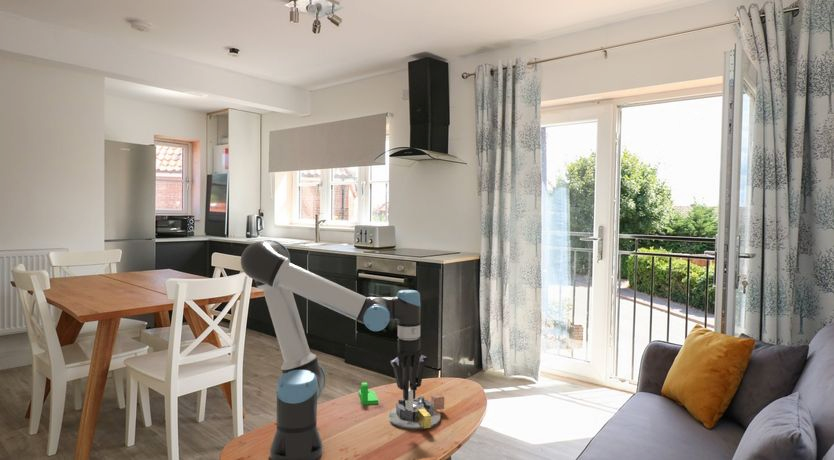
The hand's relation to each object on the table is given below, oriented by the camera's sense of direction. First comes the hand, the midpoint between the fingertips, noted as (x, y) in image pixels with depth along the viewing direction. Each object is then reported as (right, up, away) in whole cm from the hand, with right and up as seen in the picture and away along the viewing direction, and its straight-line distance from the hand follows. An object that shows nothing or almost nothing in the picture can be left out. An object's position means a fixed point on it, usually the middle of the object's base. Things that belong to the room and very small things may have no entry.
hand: (409, 409), depth 159 cm
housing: (+3, -8, +12) cm, 15 cm away
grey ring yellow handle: (+3, -6, +9) cm, 11 cm away
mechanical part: (-17, -8, +30) cm, 35 cm away
